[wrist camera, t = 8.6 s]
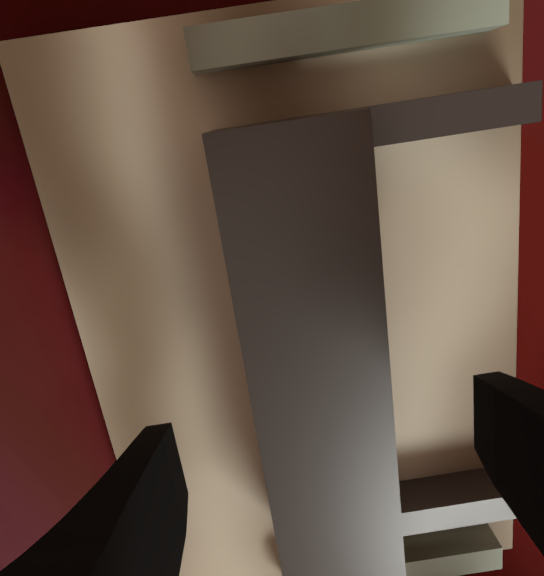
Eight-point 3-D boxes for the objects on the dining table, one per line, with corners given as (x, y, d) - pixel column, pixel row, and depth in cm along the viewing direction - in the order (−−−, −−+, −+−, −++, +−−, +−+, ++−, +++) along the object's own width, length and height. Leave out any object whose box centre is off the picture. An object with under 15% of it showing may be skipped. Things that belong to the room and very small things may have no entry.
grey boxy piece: (281, 521, 18) (291, 625, 15) (213, 130, 14) (201, 134, 10) (507, 485, 19) (575, 580, 15) (512, 83, 14) (612, 70, 10)
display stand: (164, 570, 21) (153, 633, 18) (18, 49, 14) (-31, 34, 12) (493, 519, 21) (528, 574, 18) (496, -22, 14) (550, -52, 12)
